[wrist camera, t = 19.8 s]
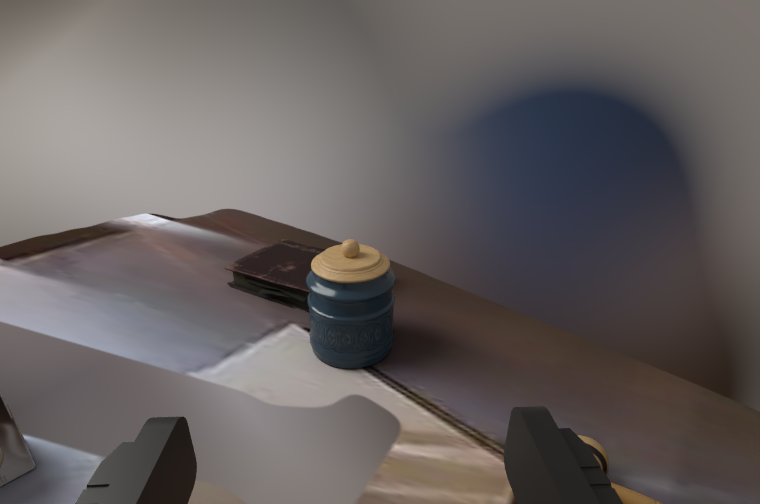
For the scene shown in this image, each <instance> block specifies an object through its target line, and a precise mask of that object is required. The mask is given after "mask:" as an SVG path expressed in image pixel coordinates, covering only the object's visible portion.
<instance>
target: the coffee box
mask: <svg viewBox="0 0 760 504" xmlns="http://www.w3.org/2000/svg"><path fill="white" fill-rule="evenodd" d="M35 467H36V466H35V463H34V460H33V458H32V455H31V453H30V451H29V448H28V446H27V443H26V441H25V439H24V437H23V435H22V433H21V431H20V429H19V427H18V425H17V423H16V421H15V419H14V417H13V415H12V413H11V411H10V409H9V407H8V405H7V403H6V401H5V398H4V396H3V394H2V393H1V391H0V486H2V485H4V484H6V483H8V482H10V481H12V480H13V479H15V478H17V477H19V476H21V475H23V474H25V473H26V472H28V471H30V470H32V469H34V468H35Z"/></svg>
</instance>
